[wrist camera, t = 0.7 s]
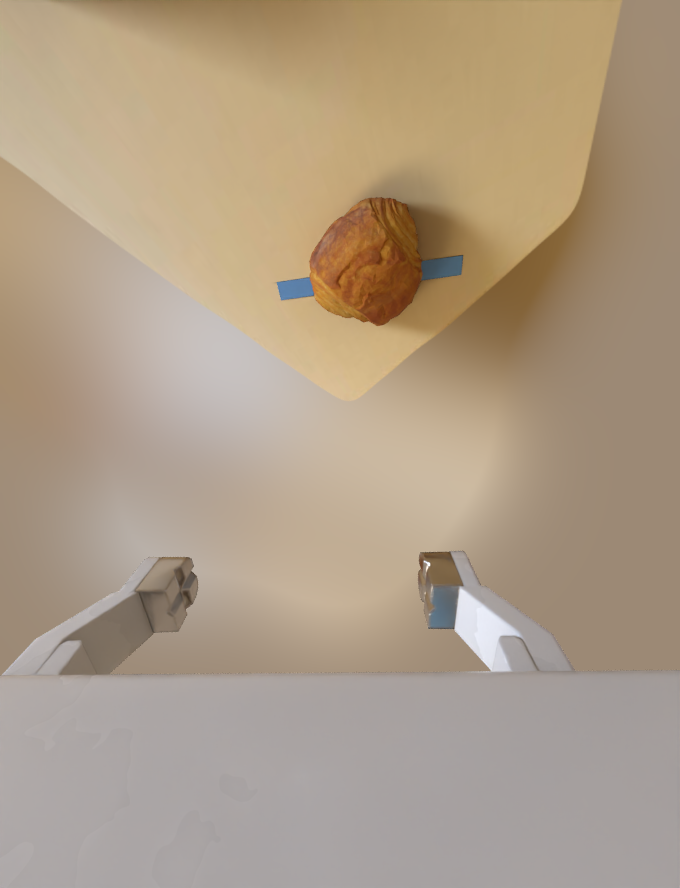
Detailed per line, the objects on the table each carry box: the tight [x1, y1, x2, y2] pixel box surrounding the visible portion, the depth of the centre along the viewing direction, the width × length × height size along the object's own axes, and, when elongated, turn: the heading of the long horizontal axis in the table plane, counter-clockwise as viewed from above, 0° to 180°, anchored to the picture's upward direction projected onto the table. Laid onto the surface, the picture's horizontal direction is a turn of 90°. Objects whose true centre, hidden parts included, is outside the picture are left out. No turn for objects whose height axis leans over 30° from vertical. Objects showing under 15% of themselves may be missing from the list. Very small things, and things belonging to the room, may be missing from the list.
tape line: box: [277, 255, 463, 300], centre depth 48 cm, size 2×26×1 cm, turn 98°
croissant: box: [310, 197, 423, 326], centre depth 45 cm, size 14×16×8 cm
